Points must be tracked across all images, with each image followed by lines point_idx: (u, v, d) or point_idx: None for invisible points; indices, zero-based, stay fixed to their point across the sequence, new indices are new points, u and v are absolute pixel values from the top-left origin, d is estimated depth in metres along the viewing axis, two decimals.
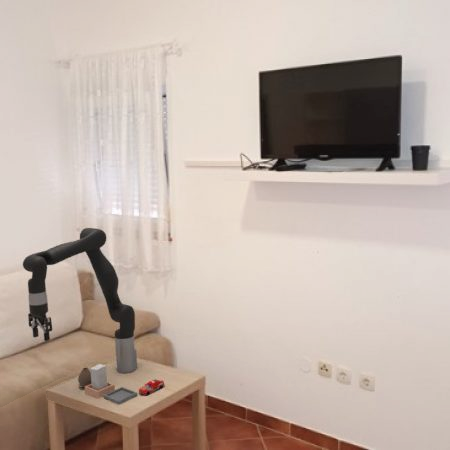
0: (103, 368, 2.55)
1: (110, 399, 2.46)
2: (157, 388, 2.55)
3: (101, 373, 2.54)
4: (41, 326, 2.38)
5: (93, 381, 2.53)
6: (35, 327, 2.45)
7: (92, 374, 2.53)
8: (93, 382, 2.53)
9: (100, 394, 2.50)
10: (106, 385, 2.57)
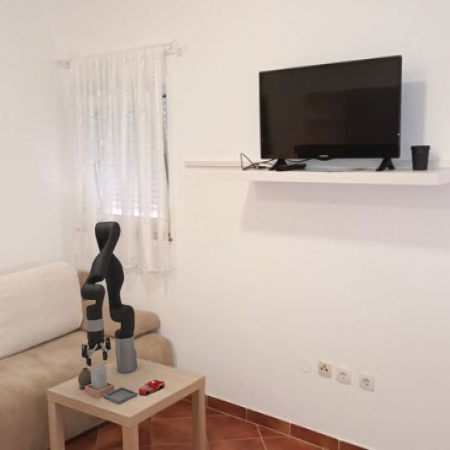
0: (103, 368, 2.55)
1: (110, 399, 2.46)
2: (157, 388, 2.55)
3: (101, 373, 2.54)
4: (105, 347, 2.55)
5: (93, 381, 2.53)
6: None
7: (92, 374, 2.53)
8: (93, 382, 2.53)
9: (100, 394, 2.50)
10: (106, 385, 2.57)
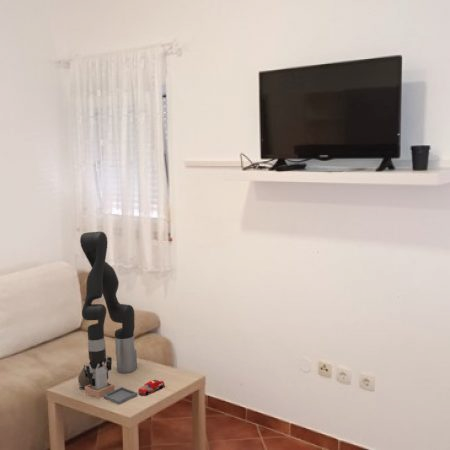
0: (103, 368, 2.55)
1: (110, 399, 2.46)
2: (157, 388, 2.55)
3: (101, 373, 2.54)
4: (106, 367, 2.56)
5: None
6: None
7: None
8: None
9: (100, 394, 2.50)
10: (106, 385, 2.57)
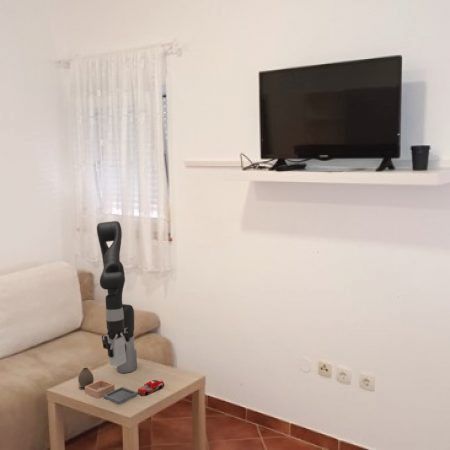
0: (121, 339, 2.46)
1: (110, 399, 2.46)
2: (156, 388, 2.55)
3: (119, 344, 2.45)
4: (125, 338, 2.48)
5: None
6: None
7: None
8: None
9: (100, 394, 2.50)
10: (124, 357, 2.48)
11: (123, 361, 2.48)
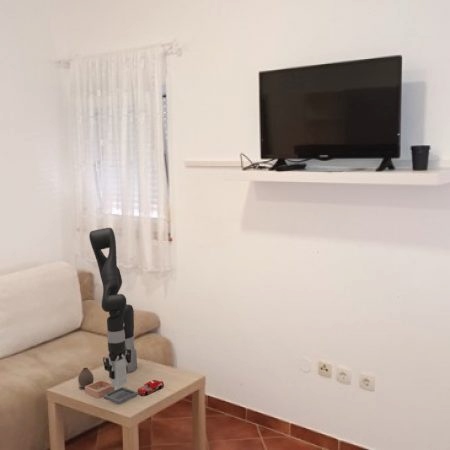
0: (123, 361, 2.48)
1: (110, 399, 2.46)
2: (156, 388, 2.55)
3: (120, 366, 2.47)
4: (126, 359, 2.49)
5: None
6: None
7: (111, 366, 2.46)
8: None
9: (100, 394, 2.50)
10: (125, 378, 2.50)
11: (124, 382, 2.49)
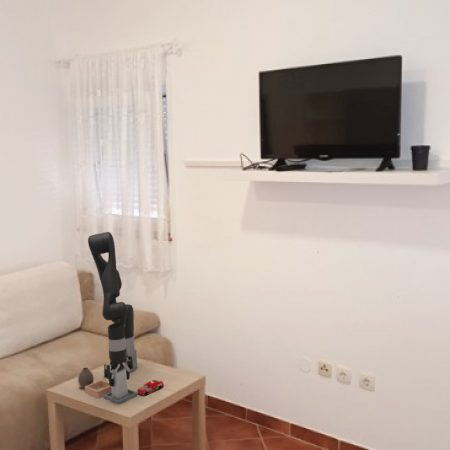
0: (123, 372, 2.48)
1: (110, 399, 2.46)
2: (156, 389, 2.55)
3: (121, 377, 2.47)
4: (127, 366, 2.50)
5: None
6: None
7: None
8: (113, 386, 2.47)
9: (100, 394, 2.50)
10: (126, 389, 2.50)
11: (125, 393, 2.50)
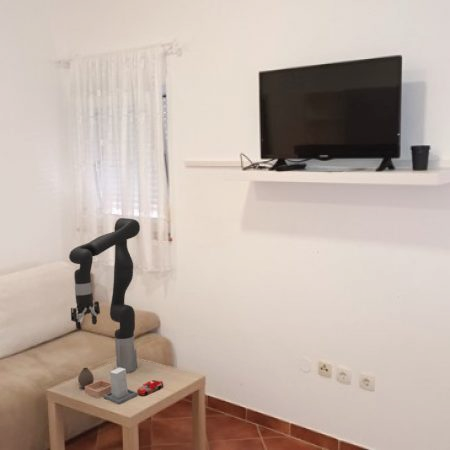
0: (123, 372, 2.48)
1: (110, 399, 2.46)
2: (155, 389, 2.55)
3: (121, 377, 2.47)
4: (94, 311, 2.58)
5: (112, 384, 2.47)
6: None
7: (112, 378, 2.46)
8: (113, 386, 2.47)
9: (100, 394, 2.50)
10: (126, 389, 2.50)
11: (125, 393, 2.50)
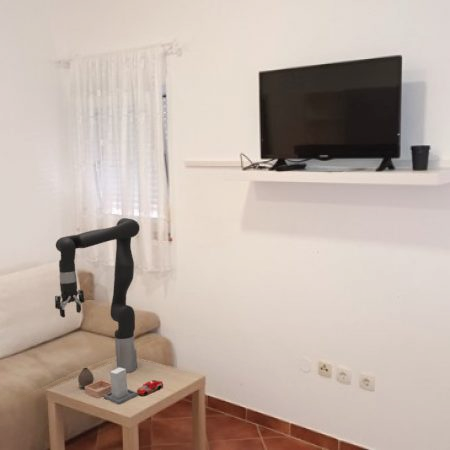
0: (123, 372, 2.48)
1: (110, 399, 2.46)
2: (155, 389, 2.55)
3: (121, 377, 2.47)
4: (78, 299, 2.64)
5: (112, 384, 2.47)
6: None
7: (112, 378, 2.46)
8: (113, 386, 2.47)
9: (100, 394, 2.50)
10: (126, 389, 2.50)
11: (125, 393, 2.50)
